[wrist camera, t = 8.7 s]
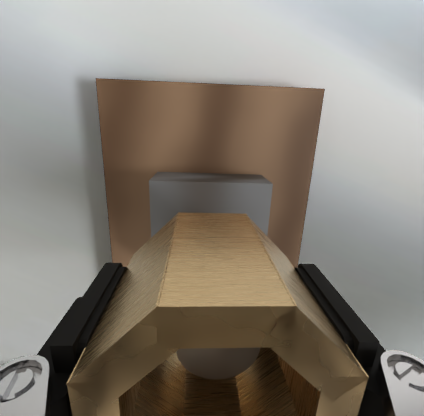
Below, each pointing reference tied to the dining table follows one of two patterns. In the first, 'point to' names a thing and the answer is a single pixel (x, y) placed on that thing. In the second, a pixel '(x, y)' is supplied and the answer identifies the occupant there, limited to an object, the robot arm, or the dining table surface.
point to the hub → (214, 331)
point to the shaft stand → (207, 169)
